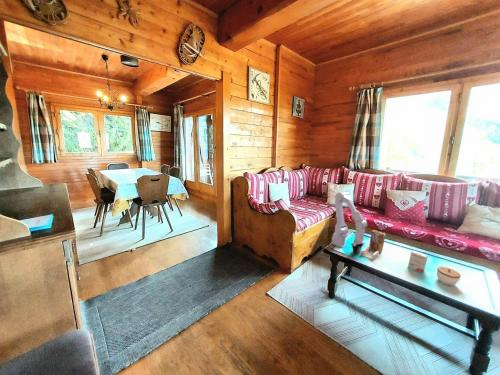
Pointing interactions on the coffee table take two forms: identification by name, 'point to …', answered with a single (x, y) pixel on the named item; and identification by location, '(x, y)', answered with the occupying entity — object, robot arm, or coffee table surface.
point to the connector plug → (357, 251)
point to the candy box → (377, 241)
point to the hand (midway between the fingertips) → (356, 251)
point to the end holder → (370, 254)
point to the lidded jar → (448, 276)
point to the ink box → (417, 261)
